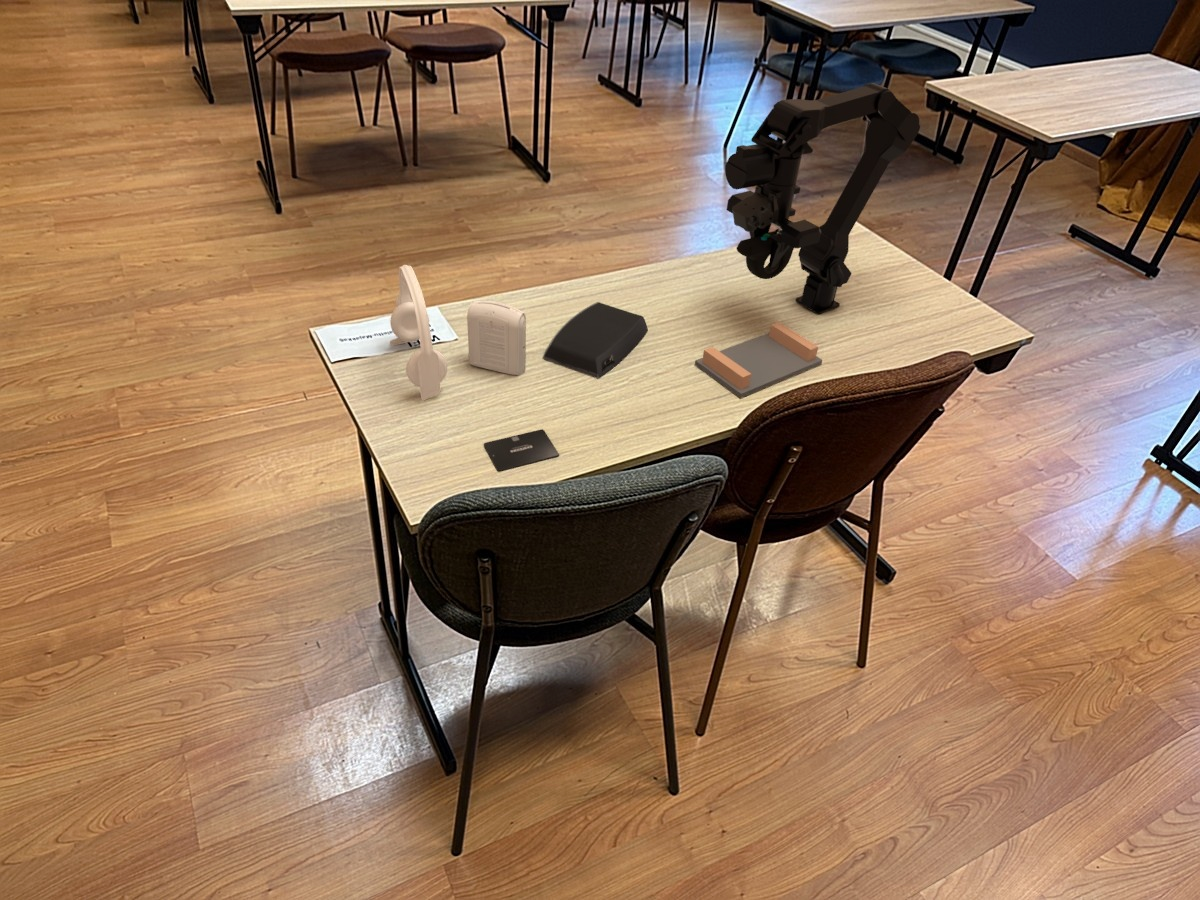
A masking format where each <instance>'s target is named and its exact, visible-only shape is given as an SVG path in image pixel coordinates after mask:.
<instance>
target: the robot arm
mask: <svg viewBox="0 0 1200 900" xmlns="http://www.w3.org/2000/svg"><path fill="white" fill-rule="evenodd" d="M863 117H865V118H866V119H867V120H868V122H869V123H868V126H867V128H866V131H865V135H864V136H865V137H864V152H863V153H862V155H861V158H860V159H859V161H858V162H857V165H856V166H855V168H854V170H853V171H852V173H851V175H850V177H849V178H848V181H847V183H846V184H845V187H844V188H843V190H842V192H841V193H840V195H839V197H838V199H837V201H836V203H835V205H834V207H833V208H832V210H831V212H830V214H829V215H828V218H827V219H826V221H825V222H824V223H823V224H822V225H820V226H819V225H816V224H815V223H813V222H810V221H808V220H807V219H800V220H798V221H795V220H790V217H794V216H796V209H794V208H793V207H792V206H793V201H794V197H795V195H797V194H800V193H801V192H800V191H801V187H800V186H799V185H797V183H798V177H799V173H800V167H801V162H802V157H803V155H808V154H812V153H813V152H814V149H813V148H812V146H810V144H809V143H808V142H810V141H812V140H814V139H816V138H818V137H819V135H820V134H821V132H822V131H823V130H825V129H827V128H831V127H833V126H836V125H839V124H843V123H847V122H849V121H853V120H856V119H859V118H863ZM920 129H921V124H920V118H919V115H918V114H917V113H915V112H913V111H911V109H909V108H908V107H906V105H904V104H903V103H902V102H901V101H900V100H899V99H898V98H896V96H895V95H894V93H893V92H892V91H891V89H889V88H887V87H884V86H882V85H880V84H877V83H875V82H869V83H865V84H864V85H863V86H860V87H857V88H854V89H851V90H847V91H844V92H840V93H837V94H833V95H829V96H826V97H821V98H819V99H816V100H815V99H814V100H809V99H796V98H795V99H794V98H793V99H782V100H780V101H777V102H776V103H775V104H773V108H772V109H771V110H770V112H769V113H768V115H767V116H765V119H764V121H762V123H761V124H760V126H759V127H758V129H757V130H756V132H755V133H754V135H753V136H752V138H751V139H750V141H751V142H752V143H753V144H751V145H749V144H748V145H745V144H744V145H738V146H736V147H735V148H736V149H735V153H733V154H731V155H730V156H729V157H728V159H727V161H726V163H725V167H724V175H725V178H726V181H727V184H728V185H729V186H730V187H731V188H732V189H733V190H741V189H742V190H743V189H746V188H747V189H748V188H751V187H755V188H754V191H751V190H748V191H744V192H743V191H742V192H739V193H734V194H731V196H730V197H729V198H728V199H727V204H726V211H727V212H729V213H731V214H732V216H733V223H734V225H735V226H737V227H740V228H742V229H743V230H744V231H745V232H748V233H749V237H750V238H753V237H757V236H761V235H764V234H766V233H768V232H770V230H771V227H772V225H773V226H774V227H777V229H778V228H779V230H778V232H777V234H774V235H771V236H769V238H770V239H771V241H772V249H771V254H770V255H769V262H768V264H769V267H771V268H772V267H775V265H776V264H777V263H778V261H779V260H780V259H781V257H782V256H783V255H784V253H785V252H786V251H787V250H788V248H789V247H790V246H791V247H793V248H794V249H799V251H798V258H799V262H800V267H801V268H800V269H801V270H802V271H804V272H806V273H807V274H808V275H807V276H806V280H805V284H804V286H803V291H802V293H801V294H802V295H801V296H798V297H796V298H795V302H796V303H799V304H800V305H802V306H803V307H805V308H806V309H808V310H810V311H812V312H813V313H816V314H817V315H820V314H822V313H825V312H828V311H830V310H833V309H836V308H839V307H840V305H841V304H840V303H839V302H838V301H836V300H835V299H836V295H837V291H838V288H841V287H843V285H844V284H847V283H848V282H849V279H850V278H851V276H852V271H850V269H849V268H848V267H847V265H846V264H845V260H846V258H847V256H848V253H849V246H850V245H849V244H850V243H849V240H850V239H849V237H850V234H851V231H852V230H853V228H854V226H855V225H856V223H857V222H858V220H859V218H860V216H861V214H862V212H863V210H864V209H865V207H866V205H867V203H868V201H869V200H870V198H871V197H872V195H873V192H874V191H875V190H876V188H877V185H878V184H879V182H880V180H881V178H882V177H883V175H884V173H885V172H886V169H887V168H888V167H889V164H890V163H891V162H892V161H894V160H895V159H896V158H898V157H900V156H902V155H903V154H904V153H906V151H908V149H909V147H910V146H911V145H912V143H913V142H914V140H915V139H916V137H917V136H918V135H919V131H920ZM771 135H773V136H775V137H777V138H779V139H781V140H782V141H784V142H782V141H779V140H777V139H775V138H773V137H771Z"/></svg>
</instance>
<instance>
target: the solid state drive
mask: <svg viewBox="0 0 1200 900" xmlns="http://www.w3.org/2000/svg"><path fill="white" fill-rule="evenodd" d="M483 447H484V449H485V451H486V452H487V454H488V456H489V459H490V460H491V463H493V465H494V468H495V469H496V471H497V472H504V471H507V470H512V469H516V468H520V467H523V466H527V465H532V464H536V463H541V462H544V461H547V460H552V459H556V458H559V456H560V454H559V452H558V450H557V448H556V447H555V445H554V444H553V442H552V440H551V439H550V437H549V435H548V434H547V432H545V430H544V429H537V430H533V431H529V432H524V433H519V434H517V435H512V436H508V437H504V438H500V439H496V440H491V441H490V440H489V441H487V442H484V443H483Z"/></svg>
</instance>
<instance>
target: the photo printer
mask: <svg viewBox="0 0 1200 900" xmlns="http://www.w3.org/2000/svg"><path fill="white" fill-rule="evenodd" d="M526 319H527V317H526V314H525V312H524V311H522V310H520V309H518V308H516V307H514V306H511V305H509V304H506V303H503V302H499V301H494V300H493V301H492V300H477V301H472V302H471V303H470V304H469V306H468V309H467V314H466V321H467V325H466V326H467V341H468V342H467V344H468V345H467V347H468V363H469V364H470V365H472V366H474V367H477V368H482V369H487V370H490V371H495V372H498V373H503V374H507V375H513V376H520V375H522V374H523V373H525V371H526V362H527V361H526V359H527V358H526V357H527V356H526V355H527V344H526V343H527V320H526Z"/></svg>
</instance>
